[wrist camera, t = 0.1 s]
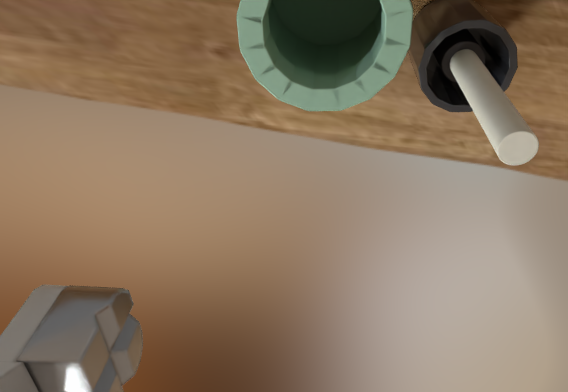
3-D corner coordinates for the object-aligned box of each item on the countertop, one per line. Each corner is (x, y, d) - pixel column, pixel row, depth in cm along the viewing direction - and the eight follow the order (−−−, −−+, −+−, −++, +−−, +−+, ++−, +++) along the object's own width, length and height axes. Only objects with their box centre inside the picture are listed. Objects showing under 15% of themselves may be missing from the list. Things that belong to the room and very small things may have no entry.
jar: (260, -83, 34) (227, -62, 24) (396, -91, 33) (420, -72, 23) (269, 50, 39) (246, 112, 29) (387, 46, 38) (405, 110, 28)
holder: (409, -3, 36) (422, 22, 30) (496, -7, 35) (527, 18, 30) (403, 76, 39) (414, 112, 34) (483, 74, 39) (508, 111, 33)
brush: (432, 21, 36) (491, 121, 22) (471, 20, 36) (558, 120, 22) (428, 59, 38) (481, 174, 24) (466, 58, 37) (543, 174, 23)
